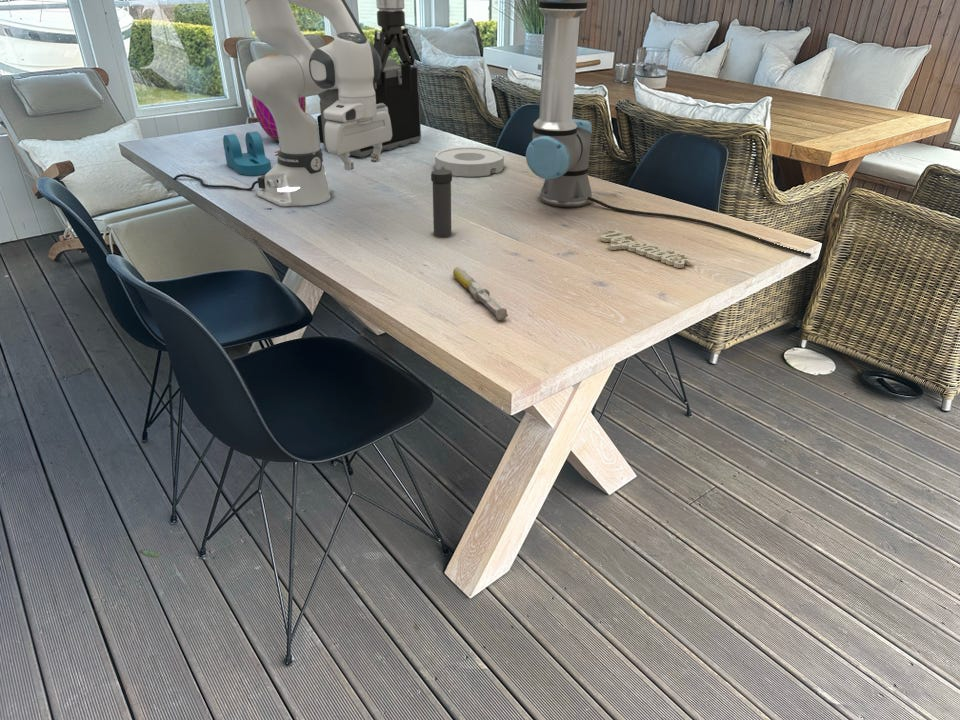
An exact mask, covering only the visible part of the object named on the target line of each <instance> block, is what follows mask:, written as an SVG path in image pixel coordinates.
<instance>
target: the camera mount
mask: <svg viewBox="0 0 960 720" xmlns="http://www.w3.org/2000/svg"><path fill="white" fill-rule="evenodd" d="M222 140H223V141H222V143H223V149H224V150H223V151H224V156H225V161H226V165H227V166H228V167H230V168H231V169H232V170H234V171H236V172H237V173H238V174H239V175H244V176H260V175H261V176H262V175H266V173H267V172H269V171H270V170H271V169H272V164H271V159H270V158H268V157H267V156H266V153H265V145H264V141H263V139H262V136H261V134H260V132H258V131H247V132H246V133H245V146H246V152H243V151H242V150H243V149H242V146H241V142H240V140H239V138H238V135H236V134H235V133H231V134H224V135H223V138H222Z"/></svg>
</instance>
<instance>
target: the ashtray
mask: <svg viewBox="0 0 960 720" xmlns="http://www.w3.org/2000/svg"><path fill="white" fill-rule="evenodd" d="M504 157H505V156H504V154H503V152H501V151H498V150H495V149H492V148H486V147H473V146H459V147H450V148H445V149H442V150H439V151H438V152H436V153H435V154H434V162H435V163H434V165H435V166H434V167H435V170H438V169H445V170H450V171H451V172H452V177H464V178H465V177H467V178H468V177H469V178H471V177H472V178H473V177H477V178H478V177H487V176H491V174H499V173H501V172H502V171H504V163H505V162H504V161H505V160H504V159H505V158H504Z"/></svg>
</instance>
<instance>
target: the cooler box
mask: <svg viewBox="0 0 960 720" xmlns="http://www.w3.org/2000/svg"><path fill="white" fill-rule="evenodd" d="M383 72H386V90H387V97H378V96H377V86H376V83H375V84H374V85H373V87H374V90H375V94H376V104H379V103H384V104H385V105H386V106H387V107H388V114H389V116H390V121H391V127H392V138H391V140H390V141H387V142H383V143H382V150H381V152H380V154H381V153H382V152H383V151H391V150H395V149H396V148H397V147H405V146H407V145H408V144H416V143H418V142H419V141H421V137H422V128H421V97H420V92H419V91H420V89H419V68H418V67H417V66H411V90H404V89H402V74H401V65H400V64H396V62H395V60H394V59H393V58H387V61H386V64H385V67H384V70H383ZM317 96H318V98H319V110H320V111H319V112H320V114H319V115H317V116H316V119H317V120H316V121H317V124H318V134H319V143H320V144H323V146H324V149H325V150H326V151H328V150H327V149H326V143H325V123H326V122H327V121H328V120H327V119H325V118H324V114H323V112H324V110H325V109H327V108H328V107H330V106H331V105H332V104H333V103H335V102H336V101H337V100H339V98H338V89H332V90H327V91H325V92H323V93H320V94H318V95H317ZM384 107H385V106H384ZM373 150H374V147H373V146H369V147H365V148H362V149H358V150H354V151H351V152H350V156H353V157H357V158H362V159H363V158H366V157H367V158H368V157H369V155H371V154H373Z"/></svg>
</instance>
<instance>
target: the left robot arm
mask: <svg viewBox="0 0 960 720" xmlns="http://www.w3.org/2000/svg"><path fill="white" fill-rule="evenodd" d="M243 3H244V6H245V9H246V11H247V15H248V17H249V20H250V24H251V26H252V29H253V32H254V34H255V36H256V38H257V39H258V40H260V41H261V42H263V43H264V44H267V45H268V46H270V47H271V48H272V49H273V50H274V51H275V52H276V53H277V55H279V56H271V57H265V56H264V57H265V58H263V57H261V58H262V59H261V58H259V59H256V60H254V61H252V62H250V63H249V64H248V66H247V68H246V71H245V83H246V86H247V89H248V90H249V92H250V94H251V96H252V95H253V96H254V97H255V98H256V99H258V100H259V101H261V102H262V103H263V104H264V105H265V106H266V107H267V108H268V109H269V111H270V112H271V114H272V116H273V118H274V121H275V124H276V127H277V132H278V138H279V140H278V142H279V150H277V151H274V152H273V153H274V157H276V156H277V160H276V161H277V162H276V164H275V165H274V166H273V167H271V170H270V171H269V172H267V173H266V174H263V175H261V176H258V177H257V180H255V181H253V182H252V184H251V187H248V188H245V187H240V186H235V185H227V184H206V183H204V180H203V179H202V178H201V177H197V176H194V175H190V174H184V173H181V174H177V175H175V176H174V177H173V180H178V179H179V178H183V177H184V178H190V179H193V180H197V181H200V184H201V185H202V186H203V187H206V188H215V189H216V188H217V189H220V188H221V189H235V190H238V191H252V190H253V189H255V186H256V185H257V184H258V188H259V190H258V191H257V197H258V198H259V197H260V198H262V199H264V200H266V201H269V202H270V203H273V204H275V205H277V206H280V207H292V206H293V207H294V206H297V207H299V206H313V205H318V204H322V203H325V202H327V201H329V200H330V199H331V198H332V196H331V193H332V191H331V187H329V183H328V179H327V174H326V173H327V172H326V169H325V165H323V162H324V158H323V156H324V154H323V149H322V148H321V145H320V144H321V143H320V139H319V130H318V121H317V120H316V119H315V117H314V116H313V115H311V114H309V113H307V112H306V111H305V112H303V111H302V109H301V107H300V104H299V98H301V97H305V98H307V97H314V96H318V94H320V93H323V92H325V91H327V90H332V89H338V98H339V100H337V101H336V102H335V103H333V104H332V105H331V106H330V107H328V108H327V109H325V110H324V112H323V114H324V118H325V119H327V120H328V121H327V122H326V123H325V143H326V149H327V150H326V149H325V150H326V151H327V152H328V153H329V154H330V155H331V154H332V155H336V156H337V155H338V156H339V157H340V159H341V161H342V163H343V168H344V170H346V171H352V170H354V169H355V166H354V161H351V160H350V158H349V157H350V156H351V155H350V152H351V151H354V150H358V149H362V148H365V147H369V146H373V147H374V150H373V153H370V161H371V163H378V162H380V160H381V158H380V156H381V153H382V152H381V150H382V143H383V142H387V141H390V140H391V138H392V127H391V121H390V116H389V114H388V107H387V106H386V105H385V104H384V103H379V104H376V94H375V90H374V87H373V85H374V84H375V83H376V82H377V80H378V78H379V76H380V74H381V70H382V62H381V58H380V56H379V54H378V52H377V50H376V49H375V48H374V44H372V43H371V41H370V39H368V37H367V36H366V35H365V33H364V31H363V29H362V27H361V26H360V24H359V22H358V21H357V19H356V17H355V15H354V13H353V12H352V10H351V8H350V7H349V5H348V3H347V2H346V0H243ZM291 4H292V5H295V6H298V7H302V8H305V9H308V10H311V11H313V12H316V13H318V14H320V15H322V16H324V17H325V18H326V19H327V20H328V21H329V22H330V23H331V25H332V27H333V28H334V30H335V33H336V34H335V36H334V39H333V41H331V42H329V43H328V44H326V45H323V46H320V47H318V48H315V47H314V46H313V45H311V43H310V41H308V40H307V38H306V37H305V36H304V34H303V33H302V30H301V29H300V27H299V24H298V23H297V21H296V18H295V15H294V13H293V10H292V7H291ZM384 106H385V107H384ZM382 151H383V150H382ZM380 152H381V153H380Z"/></svg>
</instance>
